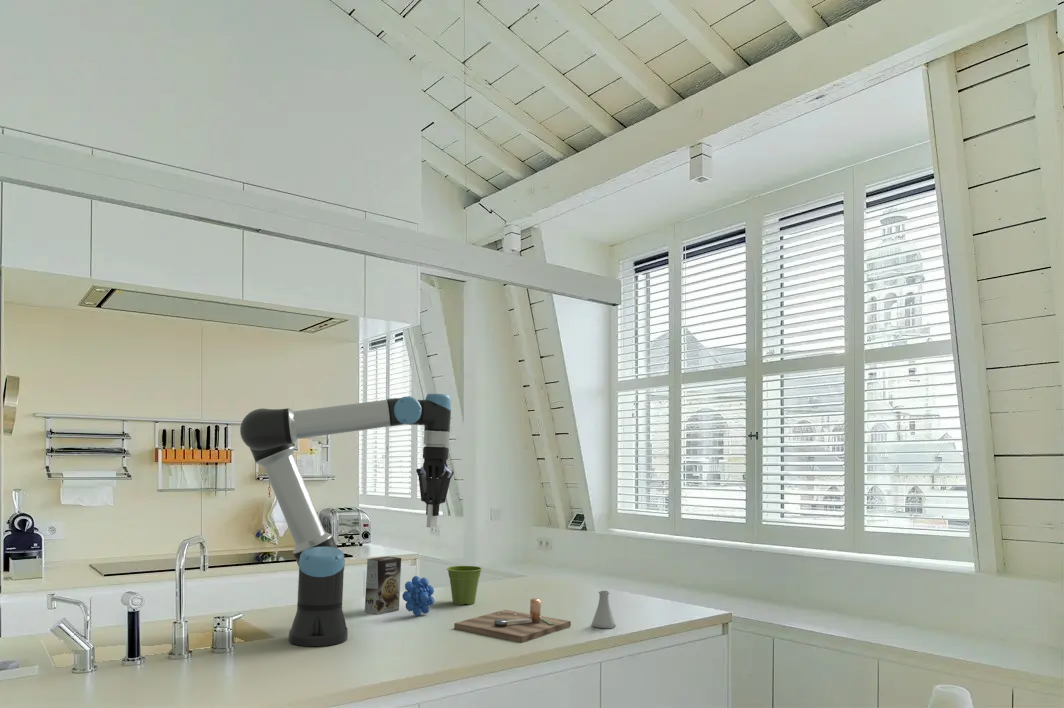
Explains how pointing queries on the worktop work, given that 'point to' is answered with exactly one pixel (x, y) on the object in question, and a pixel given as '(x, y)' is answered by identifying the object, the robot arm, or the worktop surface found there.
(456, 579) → the plant pot
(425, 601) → the grapes
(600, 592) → the flask
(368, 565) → the coffee box
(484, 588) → the worktop surface
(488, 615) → the dial board
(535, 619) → the crank handle
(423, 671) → the worktop surface
